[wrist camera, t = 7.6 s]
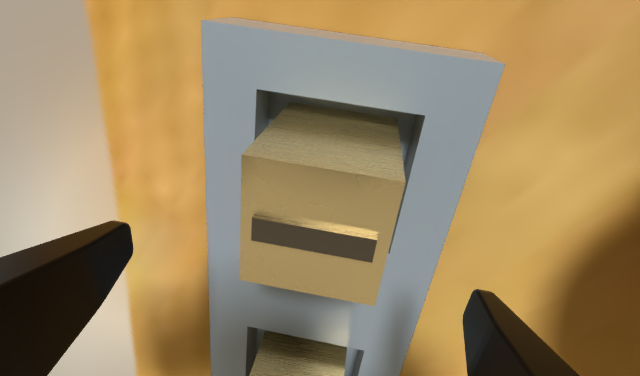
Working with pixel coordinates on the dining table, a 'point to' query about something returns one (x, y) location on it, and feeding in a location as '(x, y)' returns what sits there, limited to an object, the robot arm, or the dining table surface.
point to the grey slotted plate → (352, 95)
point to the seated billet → (297, 357)
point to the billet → (321, 202)
